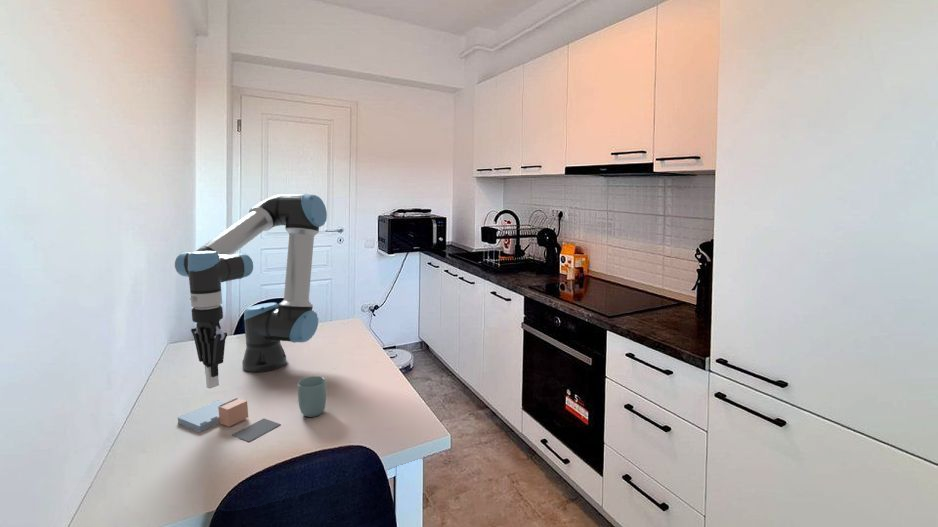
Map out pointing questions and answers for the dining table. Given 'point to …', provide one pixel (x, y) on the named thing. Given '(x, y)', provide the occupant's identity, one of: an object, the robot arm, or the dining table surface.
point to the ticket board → (202, 417)
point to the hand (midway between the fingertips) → (212, 386)
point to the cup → (312, 395)
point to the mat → (256, 430)
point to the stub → (233, 411)
